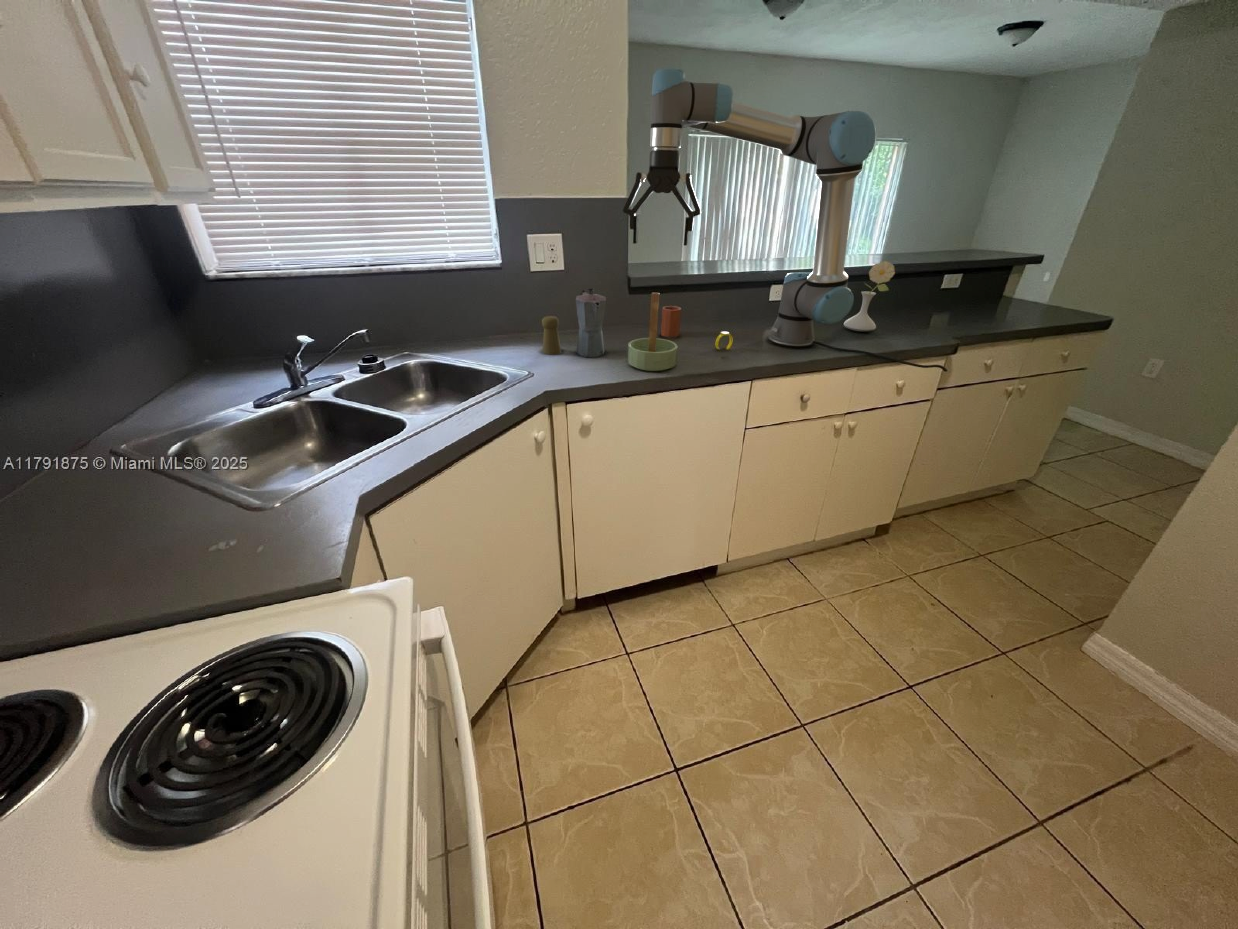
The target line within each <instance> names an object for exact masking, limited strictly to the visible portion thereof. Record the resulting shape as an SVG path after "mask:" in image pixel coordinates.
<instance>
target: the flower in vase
mask: <svg viewBox="0 0 1238 929" xmlns="http://www.w3.org/2000/svg"><path fill="white" fill-rule="evenodd" d="M895 270H896V269H895V265H894V263H891V262H890V261H887V260H884V261H879V262H878V263H874V265H873V266H872V267H871V269H870V270H869V272H868V276H869V280H870V281H872V282H873V283H875V284H876V286H875V287H874V288H872V287H871V286H870V285H869V284H867V283H866V282H865V281H863V284H864V285H865V286H867V287H868V288H870V289H871V291H868V290H867V291H866V290H865V291H861V292H860V293H861V295H862V303H861V307H860V310H859V312H858V313H856V314H855V315H853V316H851V317H849V318H848V319H846V320H845V321H844V323H843V326H844V327H845V328H846V329H848V330H850V331H854V332H859V333H861V332H862V333H863V332H864V333H865V332H866V333H868V332H872V331H874V330H876V328H877V324H875V321H874V320H873V319H872V318H871V317H870V316H869V314H868V309H869V306H870V303H871V301H872V300H873V297H874V296H875V295H877V293H876V292H874V290H875V289H876V288H877V289H878V291H879V292H888V291H890V289H889V287H888V285H886V284H885V283H887V282H890V280H891V278H893V277H894V275H895V274H896V271H895Z"/></svg>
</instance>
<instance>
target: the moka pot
mask: <svg viewBox="0 0 1238 929" xmlns="http://www.w3.org/2000/svg"><path fill="white" fill-rule="evenodd" d="M587 291H588V292H586V291H585V290H584V289H581V293H580V295H576V297H575V308H576V315H577V322H578V328H579V329H578V335H577V336H578V337H577V342H576V353H577V354H578V355H579V356H580V357H585V358H598V357H601V356H603V355H604V354H605V351H606V350H605V342H604V335H603V324H604V316H605V308H606V301H607V300H606V296H604V295H600V294H597V293H594V288H587Z"/></svg>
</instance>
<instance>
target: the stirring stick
mask: <svg viewBox="0 0 1238 929" xmlns="http://www.w3.org/2000/svg"><path fill="white" fill-rule="evenodd" d="M659 304H660V292H655V291H654V292H651V294H650V314H649V315H650V316H649V334H648V338H649V350H648V352H656V341H657V338H658V323H659V308H660V307H659V306H660V305H659Z"/></svg>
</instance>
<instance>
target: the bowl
mask: <svg viewBox="0 0 1238 929" xmlns="http://www.w3.org/2000/svg"><path fill="white" fill-rule="evenodd" d="M648 350H649V337H642V338H641V337H640V338H635V339H633V340H631V341H629V342H628V343H627V363H628V365H630V366H631V367H634V368H635V369H637V370H640V371H646V372H661V371H666V370H669V369H672V368H674V367H675V366H676V365H677V360H678V344H677V343H676V342H674V341H672V340H669V339H665V338H660V337H659V338H658V337H657V341H656V352H648Z"/></svg>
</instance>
